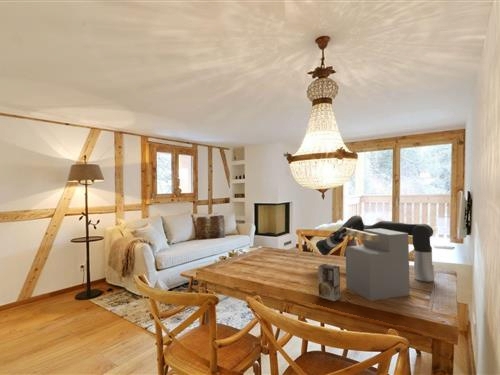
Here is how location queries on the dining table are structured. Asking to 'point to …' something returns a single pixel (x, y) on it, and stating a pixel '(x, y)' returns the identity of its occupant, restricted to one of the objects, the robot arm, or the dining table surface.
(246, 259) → the dining table surface
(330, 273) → the coffee box
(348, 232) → the birch bar
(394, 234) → the stepped plinth
